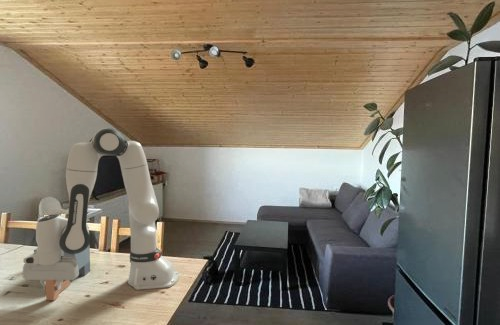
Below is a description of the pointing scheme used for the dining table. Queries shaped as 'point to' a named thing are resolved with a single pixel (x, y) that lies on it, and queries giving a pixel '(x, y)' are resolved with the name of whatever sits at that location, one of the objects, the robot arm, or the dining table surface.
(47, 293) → the square headed mallet
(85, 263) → the grey block
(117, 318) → the dining table surface
